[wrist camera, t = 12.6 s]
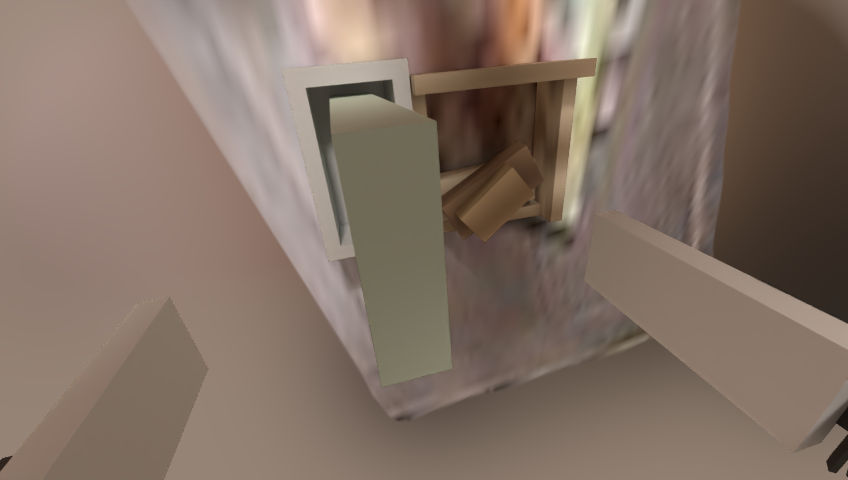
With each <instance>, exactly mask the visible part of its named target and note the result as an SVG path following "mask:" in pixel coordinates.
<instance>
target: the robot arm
mask: <svg viewBox="0 0 848 480" xmlns="http://www.w3.org/2000/svg"><path fill="white" fill-rule="evenodd" d="M584 281H585V282H586V283H588V284H589V285H590V286H591V287H592V288H594V289H595V290H596V291H597V292H599V293H600V294H601V295H602V296H603V297H605V298H606V299H607V300H608V301H609V302H611V303H612V304H613V305H614V306H616V307H617V308H618V309H619V310H620V311H622V312H623V313H624V314H625V315H626V316H628V317H629V318H630V319H631V320H633V321H634V322H635V323H636V324H637V325H639V326H640V327H641V328H642V329H643V330H645V331H646V332H647V333H648V334H650V335H651V336H652V337H653V338H654V339H656V340H657V341H658V342H659V343H661V344H662V345H663V346H664V347H666V348H667V349H668V350H669V351H670V352H671V353H673V354H674V355H675V356H676V357H677V358H679V359H680V360H681V361H682V362H684V363H685V364H686V365H687V366H688V367H690V368H691V369H692V370H693V371H695V372H696V373H697V374H698V375H699V376H701V377H702V378H703V379H704V380H706V381H707V382H708V383H709V384H710V385H711V386H713V387H714V388H715V389H716V390H718V391H719V392H720V393H721V394H722V395H724V396H725V397H726V398H727V399H729V400H730V401H731V402H732V403H733V404H735V405H736V406H737V407H738V408H739V409H741V410H742V411H743V412H744V413H746V414H747V415H748V416H749V417H750V418H752V419H753V420H754V421H755V422H757V423H758V424H759V425H760V426H761V427H762V428H764V429H765V430H766V431H767V432H769V433H770V434H771V435H772V436H773V437H775V438H776V439H777V440H778V441H780V442H781V443H782V444H783V445H784V446H785V447H787V448H788V449H789V450H790V451H792V452H793V453H795V452H798V451H800V450H803V449H805V448H808V447H810V446H813V445H815V444H818V443H821V442H822V440H823V439H824V438H825V437H826V435H827V434H828V433H829V432H830V430H831V429H832V428H833V427H834V425H835V424H836V423H837V424H838V425H839V426H841V427H842V428H844V429H845V430H847V431H848V322H847V321H845V320H843V319H841V318H839V317H837V316H834V315H833V314H831V313H829V312H827V311H824V310H823V309H820V308H818V307H816V306H810V305H809V304H808V302H806V301H804V300H802V299H800V298H798V297H796V296H794V295H791V296H790V295H788V294H787V292H785V291H783V290H781V289H779V288H777V287H775V286H773V285H771V284H769V283H767V282H765V281H763V280H760V279H756V278H753V277H751V276H749V275H747V274H745V273H743V272H740V271H739V270H737V269H735V268H733V267H731V266H728V265H726V264H724V263H722V262H720V261H718V260H716V259H714V258H712V257H710V256H708V255H706V254H704V253H702V252H700V251H698V250H696V249H694V248H692V247H690V246H688V245H686V244H684V243H682V242H679V241H677V240H675V239H673V238H671V237H669V236H667V235H665V234H663V233H661V232H659V231H657V230H655V229H653V228H651V227H649V226H647V225H645V224H643V223H641V222H639V221H637V220H635V219H632V218H630V217H628V216H626V215H624V214H622V213H620V212H618V211H616V210H613V211H608V212H602V213H597V214H596V215H595V221H594V227H593V232H592V238H591V244H590V250H589V256H588V261H587V267H586V273H585V279H584ZM207 371H208V367H207V365H206V363H205V361H204V360H203V358H202V356H201V354H200V352H199V350H198V348H197V346H196V345H195V343H194V341H193V339H192V337H191V335H190V333H189V332H188V330H187V328H186V326H185V324H184V322H183V320H182V318H181V317H180V315H179V313H178V311H177V309H176V307H175V305H174V304H173V302H172V300H171V298H170V297H164V298H160V299H154V300H149V301H144V302H139V303H137V304H136V305H135V307H134V308H133V309H132V311H131V312H130V313H129V314H128V315H127V317H126V318H125V319H124V320H123V321H122V323H121V324H120V325H119V326H118V328H117V329H116V330H115V331H114V333H113V334H112V335H111V336H110V337H109V339H108V340H107V341H106V342H105V344H104V345H103V346H102V347H101V349H100V350H99V351H98V352H97V353H96V355H95V356H94V357H93V358H92V360H91V361H90V362H89V363H88V365H87V366H86V367H85V368H84V369H83V371H82V372H81V373H80V374H79V376H78V377H77V378H76V379H75V381H74V382H73V383H72V384H71V385H70V387H69V388H68V389H67V390H66V392H65V393H64V394H63V395H62V396H61V398H60V399H59V400H58V401H57V403H56V404H55V405H54V406H53V408H52V409H51V410H50V411H49V413H48V414H47V415H46V416H45V417H44V419H43V420H42V421H41V422H40V423H39V425H38V426H37V427H36V428H35V430H34V431H33V432H32V433H31V435H30V436H29V437H28V438H27V439H26V441H25V442H24V443H23V444H22V446H21V447H20V448H19V449H18V451H17V452H16V453H15V454H14V455H13V456H10V457H5V458H2V459H1V460H0V480H164V478H165V476H166V473H167V471H168V468H169V466H170V463H171V461H172V458H173V456H174V453H175V451H176V448H177V446H178V443H179V441H180V438H181V436H182V433H183V431H184V428H185V426H186V423H187V421H188V418H189V416H190V413H191V411H192V408H193V406H194V403H195V401H196V398H197V396H198V393H199V391H200V388H201V386H202V383H203V381H204V378H205V376H206V373H207ZM847 460H848V435H847V436H846V437H845V439H843V441H842V442H841V443H840V444H839V445H838V447H837V448H836V449H835V450H834V451H833V453H832V454H831V455H830V457H829V458H828V460H827V461H826V462H827V466H828V470H829V471H830V472H833V473H837V472H838V471H839V469H840V468H841V467H842V466H843V465H844V464H845V462H846V461H847ZM846 475H847V477H848V470H847V474H846Z"/></svg>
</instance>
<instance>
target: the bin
mask: <svg viewBox="0 0 848 480" xmlns="http://www.w3.org/2000/svg"><path fill="white" fill-rule="evenodd" d="M281 70H282V74H283V78H284V82H285V86H286V90H287V94H288V98H289V102H290V106H291V110H292V114H293V118H294V123H295V127H296V131H297V135H298V139H299V143H300V147H301V151H302V155H303V159H304V163H305V167H306V171H307V175H308V180H309V184H310V188H311V192H312V196H313V200H314V204H315V208H316V212H317V216H318V220H319V224H320V228H321V232H322V237H323V241H324V245H325V249H326V253H327V257H328V261H334V260H340V259H345V258H350V257H355V252H354V247H353V242H352V237H351V232H350V227H349V222H348V217H347V212H346V207H345V202H344V197H343V192H342V187H341V182H340V177H339V172H338V167H337V162H336V157H335V152H334V148H333V143H332V138H331V126H330V101H329V96H333V95H343V94H352V93H362V92H369V93H371V94H373V95H376V96H378V97H380V98H383V99H385V100H388V101H390V102H392V103H395V104H397V105H400V106H402V107H404V108H407V109H409V110H411V111H412V100H411V89H410V78H409V67H408V58H402V59H391V60H380V61H368V62H357V63H345V64H334V65H322V66H311V67H300V68H288V69H281Z"/></svg>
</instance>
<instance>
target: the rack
mask: <svg viewBox="0 0 848 480" xmlns="http://www.w3.org/2000/svg"><path fill="white" fill-rule="evenodd" d="M596 61H597V58H590V59H574V60H559V61H546V62H536V63H525V64H515V65H505V66H494V67H484V68H474V69H464V70H453V71H443V72H433V73H422V74H412V75H409V78H410V89H411V100H412V111H414V112H416V113H419V114H421V115H423V116H426V117H427V109H426V96H425V94H433V93H442V92H451V91H460V90H469V89H479V88H488V87H497V86H506V85H515V84H525V83H534V82H537V95H536V110H535V126H534V142H533V159H535V163H536V165H537V168H538V170H539V172H540V174H541V176H542V178H543V180H544V181H543V182H542V183H540V184H539V185H538V186H536V187H535V199H533V200H529V201H527V202H526V203H525V204H524V205H523V206H522V207H521V208H520V209H519V210H518V211H517V212H516V213H515V214H514V215H513V216H512V217H511V218H510V219H509V220H508V221H510V220H515V219H520V218H526V217H531V216H536V215H540V216H542V217H543V218H545V219H546V220H548V221H549V222H555V221H560V220H562V211H563V202H564V193H565V184H566V175H567V166H568V157H569V148H570V139H571V130H572V122H573V113H574V104H575V95H576V86H577V78H580V77H589V76H595V69H596ZM443 231H444V233H446V232H452V231H457V230H456V229H455V228H454V226H453V225H452V223H451V222H450V221H449V220H447V221H443Z"/></svg>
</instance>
